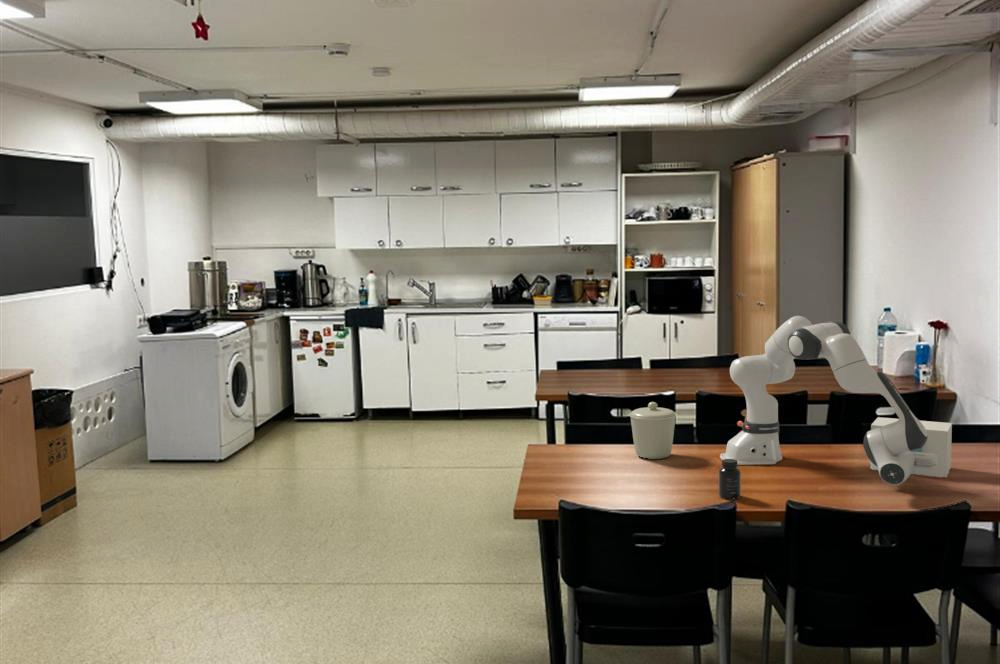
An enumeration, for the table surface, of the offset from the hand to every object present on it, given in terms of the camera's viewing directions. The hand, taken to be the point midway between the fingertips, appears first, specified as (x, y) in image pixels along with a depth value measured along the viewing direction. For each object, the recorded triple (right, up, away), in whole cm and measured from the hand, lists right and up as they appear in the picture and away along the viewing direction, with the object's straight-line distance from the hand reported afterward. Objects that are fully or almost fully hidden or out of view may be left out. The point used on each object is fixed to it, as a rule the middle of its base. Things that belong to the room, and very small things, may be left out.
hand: (905, 452), depth 295 cm
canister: (-77, -7, +41) cm, 88 cm away
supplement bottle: (-62, -13, -12) cm, 64 cm away
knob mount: (+8, -8, +14) cm, 18 cm away
